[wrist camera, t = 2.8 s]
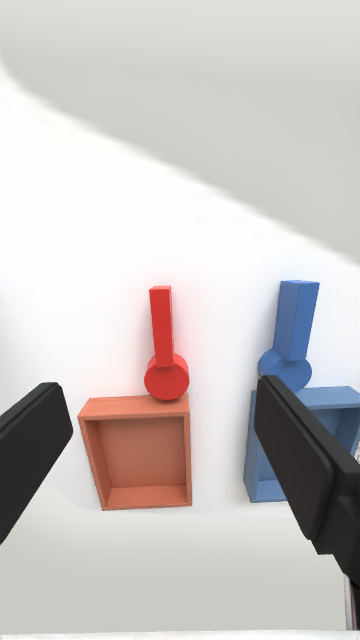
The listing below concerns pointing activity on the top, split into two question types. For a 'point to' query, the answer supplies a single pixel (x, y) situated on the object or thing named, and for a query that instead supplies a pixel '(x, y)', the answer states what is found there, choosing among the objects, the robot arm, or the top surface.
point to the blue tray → (330, 409)
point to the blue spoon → (292, 335)
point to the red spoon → (164, 351)
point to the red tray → (139, 451)
